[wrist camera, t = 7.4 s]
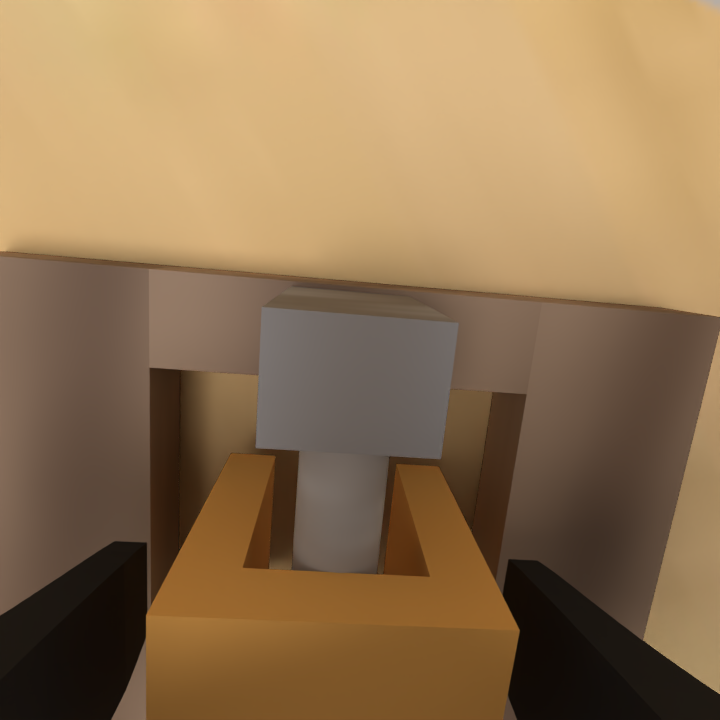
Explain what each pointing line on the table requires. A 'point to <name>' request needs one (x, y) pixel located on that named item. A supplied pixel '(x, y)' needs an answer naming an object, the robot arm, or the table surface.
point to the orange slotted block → (328, 617)
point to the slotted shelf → (196, 319)
